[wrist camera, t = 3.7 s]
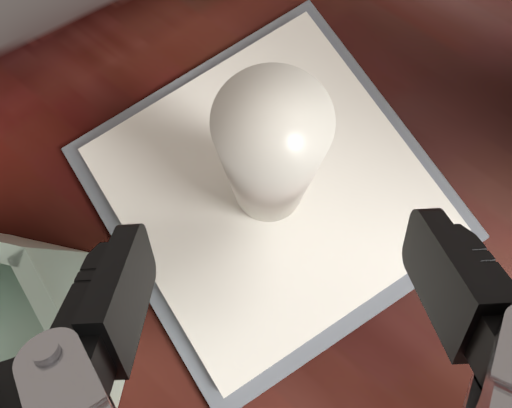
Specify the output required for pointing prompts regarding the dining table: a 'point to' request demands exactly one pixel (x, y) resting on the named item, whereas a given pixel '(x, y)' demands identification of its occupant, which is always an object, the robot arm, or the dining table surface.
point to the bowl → (35, 291)
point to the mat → (336, 331)
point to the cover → (266, 198)
